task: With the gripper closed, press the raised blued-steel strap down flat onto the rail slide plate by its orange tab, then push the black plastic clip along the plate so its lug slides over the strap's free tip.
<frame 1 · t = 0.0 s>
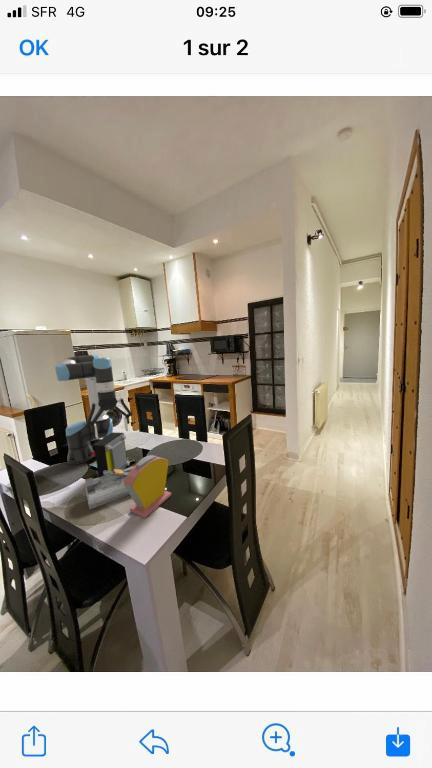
hand: (112, 433, 119), 28 cm above the table, fingers open, 13 cm apart
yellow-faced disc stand: (151, 503, 110), on the table
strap: (120, 473, 121), point 8 cm above the table, hinge at 25.0°
electrical component: (114, 472, 139), on the table
clip: (94, 485, 115), point 7 cm above the table, slide at 0.0 cm
rail slide plate: (117, 490, 121), on the table
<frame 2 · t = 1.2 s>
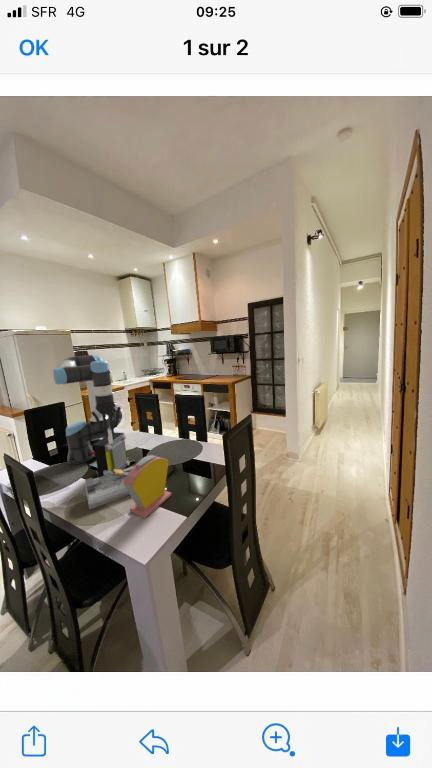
hand: (110, 442, 118), 24 cm above the table, fingers closed
nothing on the table moved.
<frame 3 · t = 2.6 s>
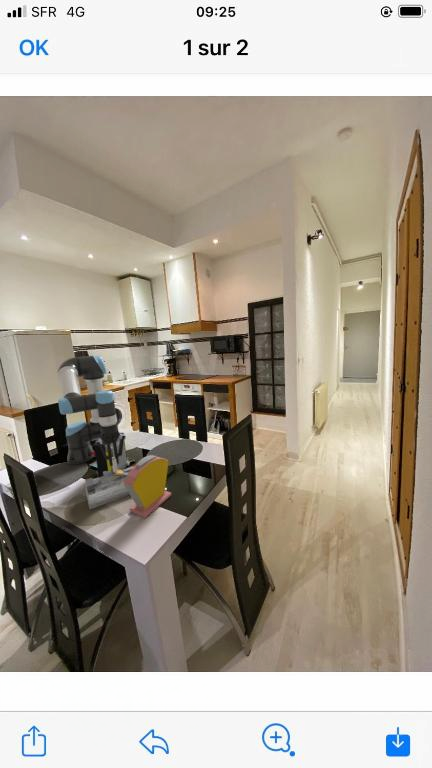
hand: (115, 470, 119), 11 cm above the table, fingers closed
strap: (120, 473, 121), point 8 cm above the table, hinge at 23.8°, touching gripper
everything else where it was.
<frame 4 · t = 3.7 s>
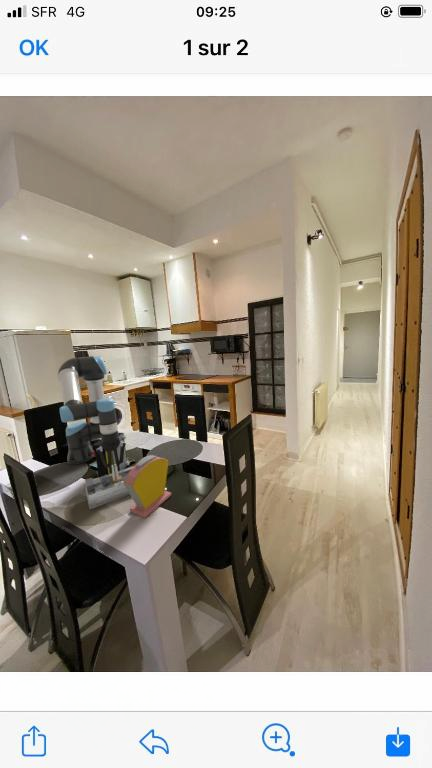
hand: (115, 478, 120), 7 cm above the table, fingers closed, pressing on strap
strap: (119, 478, 121), point 6 cm above the table, hinge at 2.5°, touching gripper
everything else where it was.
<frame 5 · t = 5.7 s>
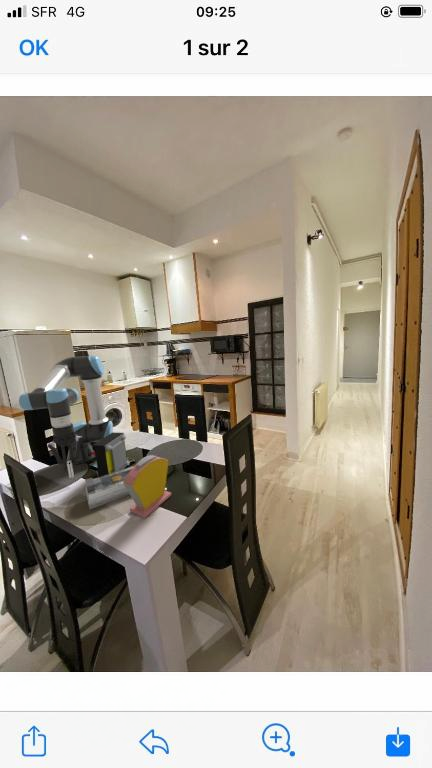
hand: (71, 476, 109), 14 cm above the table, fingers closed
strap: (119, 478, 121), point 6 cm above the table, hinge at 2.4°
everything else where it was.
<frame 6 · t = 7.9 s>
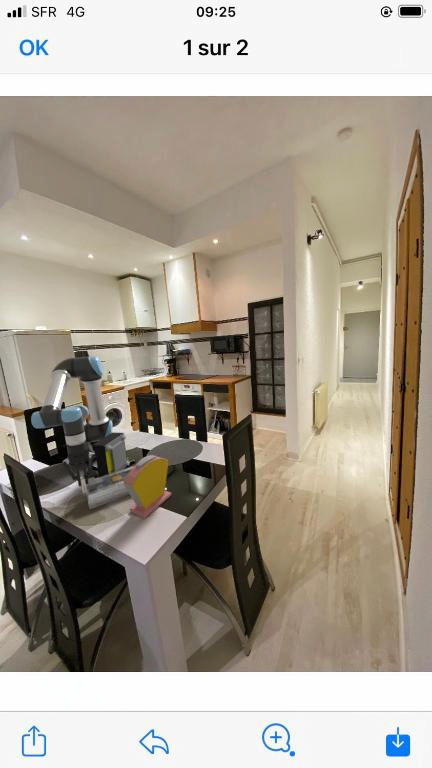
hand: (84, 491, 113), 5 cm above the table, fingers closed
clip: (96, 484, 115), point 7 cm above the table, slide at 0.9 cm, touching gripper
everything else where it was.
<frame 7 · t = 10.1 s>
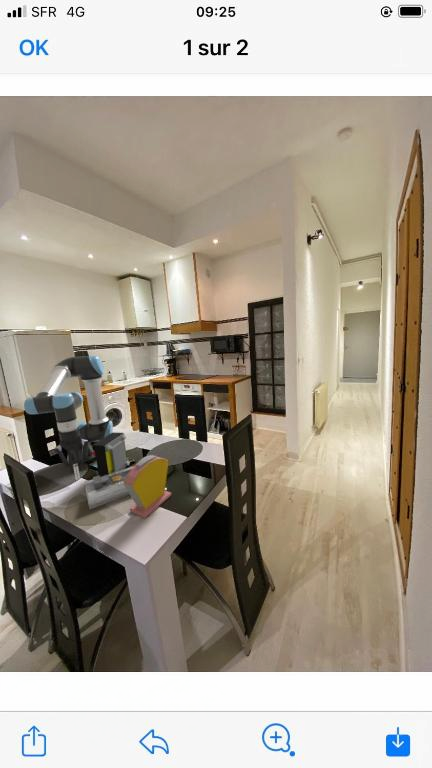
hand: (77, 478, 112), 12 cm above the table, fingers closed
clip: (101, 483, 116), point 7 cm above the table, slide at 3.3 cm
everything else where it was.
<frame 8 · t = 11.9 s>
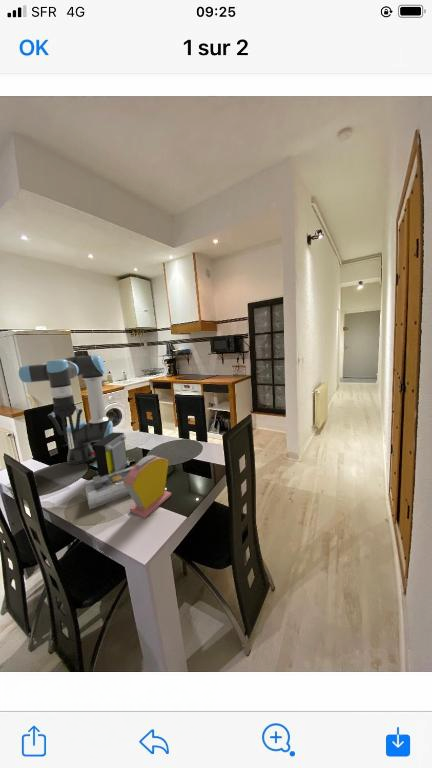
hand: (71, 447, 110), 26 cm above the table, fingers closed
nothing on the table moved.
at the end: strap at +2° (first picture: +25°); clip slide at 3.3 cm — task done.
